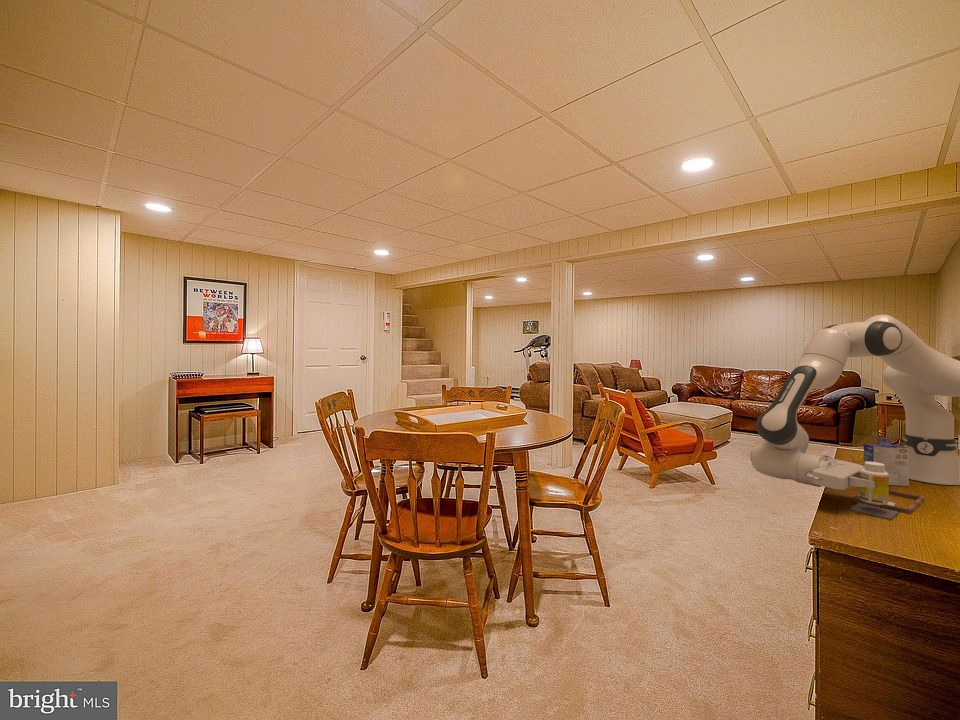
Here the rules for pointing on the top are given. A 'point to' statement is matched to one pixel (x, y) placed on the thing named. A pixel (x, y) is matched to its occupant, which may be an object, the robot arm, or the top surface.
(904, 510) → the brown rectangular frame
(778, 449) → the robot arm
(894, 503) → the flat tile
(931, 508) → the top surface
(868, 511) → the pad
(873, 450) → the ink cartridge box
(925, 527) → the top surface
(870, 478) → the supplement bottle
